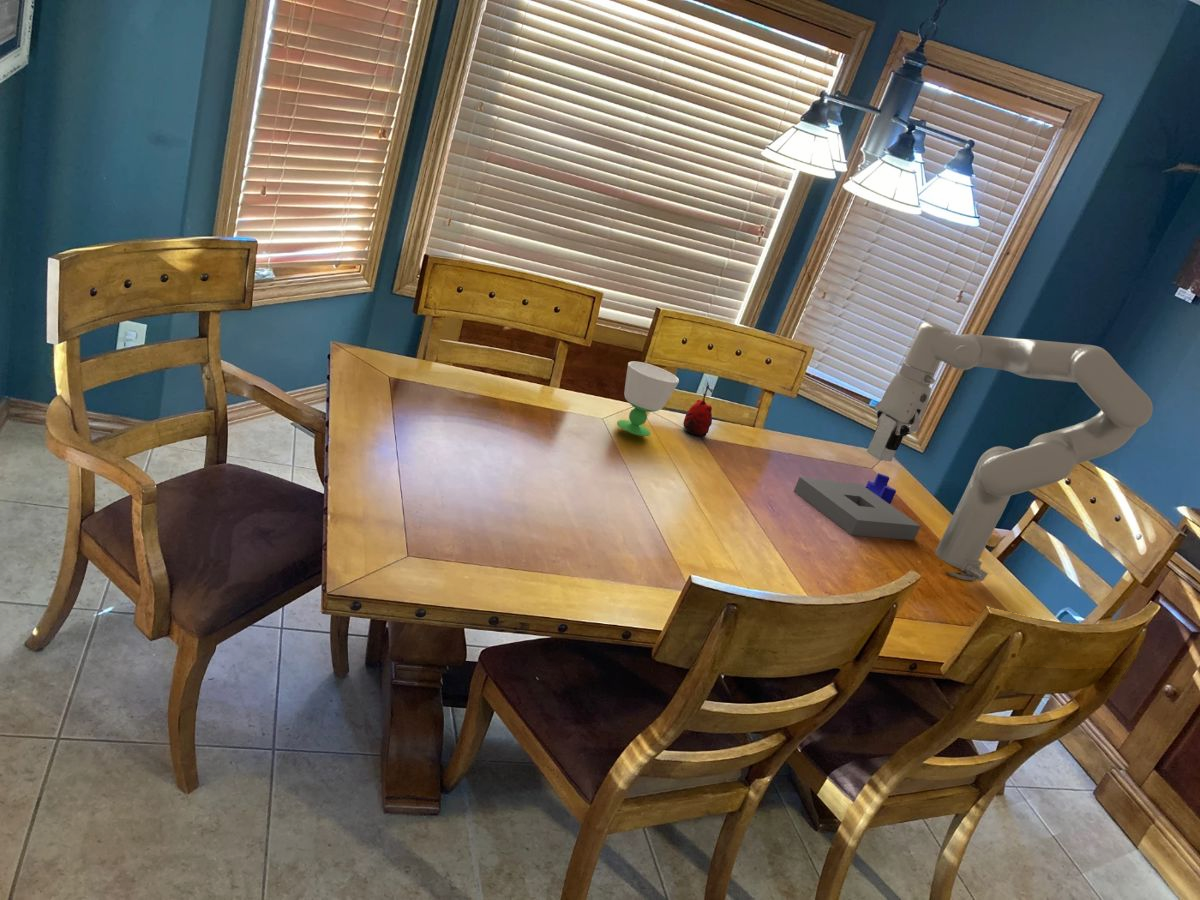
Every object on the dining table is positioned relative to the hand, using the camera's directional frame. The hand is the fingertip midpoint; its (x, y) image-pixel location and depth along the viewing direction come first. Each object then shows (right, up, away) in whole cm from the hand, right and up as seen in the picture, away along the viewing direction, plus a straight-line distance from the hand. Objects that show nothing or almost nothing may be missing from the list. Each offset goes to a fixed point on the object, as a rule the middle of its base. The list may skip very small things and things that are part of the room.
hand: (884, 444), depth 227 cm
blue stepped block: (+5, -15, +25) cm, 30 cm away
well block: (-6, -18, +6) cm, 20 cm away
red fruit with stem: (-43, +3, +30) cm, 53 cm away
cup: (-60, +4, +15) cm, 62 cm away
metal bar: (-1, -3, +1) cm, 3 cm away
